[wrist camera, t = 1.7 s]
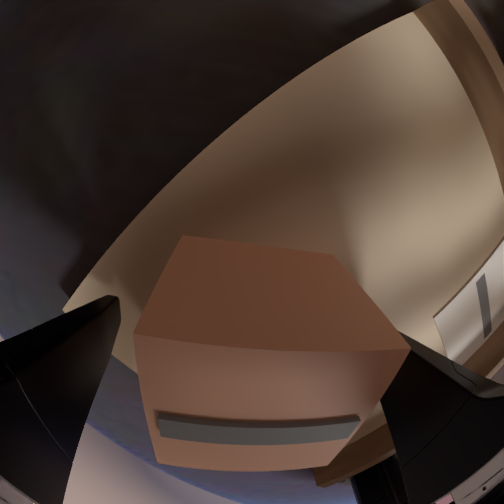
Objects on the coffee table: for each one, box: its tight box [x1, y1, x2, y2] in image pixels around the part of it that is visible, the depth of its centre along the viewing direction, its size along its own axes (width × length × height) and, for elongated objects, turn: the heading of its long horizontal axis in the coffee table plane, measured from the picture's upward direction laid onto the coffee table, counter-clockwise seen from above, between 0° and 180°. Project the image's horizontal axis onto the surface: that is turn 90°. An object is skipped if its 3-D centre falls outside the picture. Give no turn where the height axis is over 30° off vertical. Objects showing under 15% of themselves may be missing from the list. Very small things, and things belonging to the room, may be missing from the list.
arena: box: [62, 0, 504, 488], centre depth 10 cm, size 20×20×3 cm
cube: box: [133, 235, 411, 471], centre depth 7 cm, size 5×5×5 cm
